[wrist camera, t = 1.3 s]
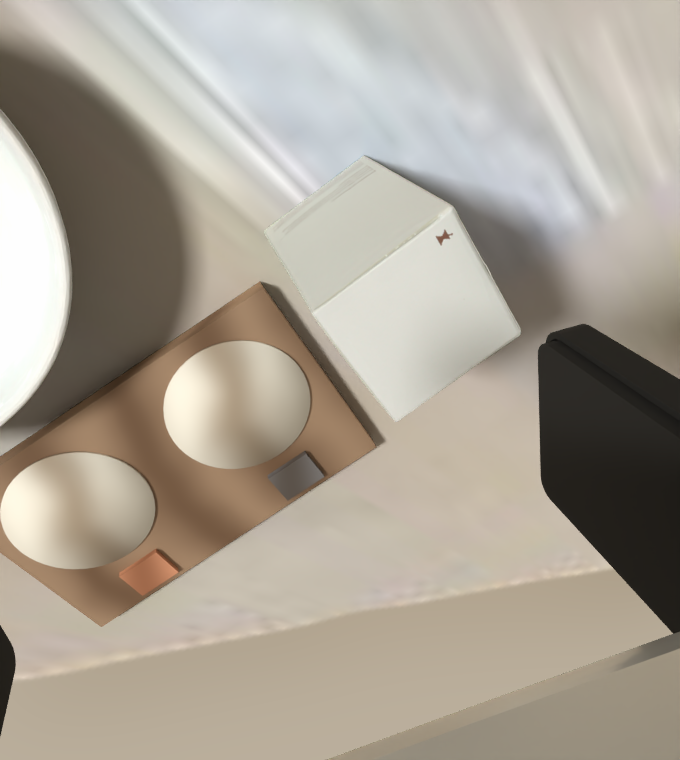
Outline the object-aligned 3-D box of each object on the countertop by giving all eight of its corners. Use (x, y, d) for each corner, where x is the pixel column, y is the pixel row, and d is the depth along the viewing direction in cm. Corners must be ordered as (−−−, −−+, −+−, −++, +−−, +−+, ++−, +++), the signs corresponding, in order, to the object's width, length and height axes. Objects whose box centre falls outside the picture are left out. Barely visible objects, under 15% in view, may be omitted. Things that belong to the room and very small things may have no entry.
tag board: (259, 281, 38) (264, 290, 37) (371, 437, 45) (378, 450, 44) (-56, 494, 39) (-64, 511, 38) (102, 614, 46) (100, 631, 45)
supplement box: (258, 229, 37) (305, 310, 26) (365, 151, 36) (458, 199, 25) (328, 324, 40) (394, 428, 30) (425, 254, 40) (529, 334, 29)
